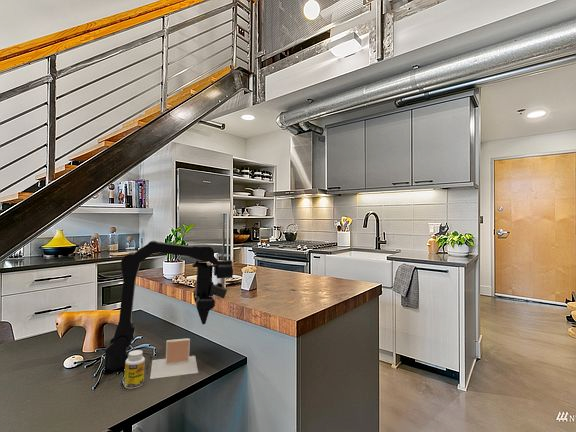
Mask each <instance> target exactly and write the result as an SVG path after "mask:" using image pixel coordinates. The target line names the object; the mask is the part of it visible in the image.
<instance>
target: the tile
mask: <svg viewBox="0 0 576 432" xmlns="http://www.w3.org/2000/svg"><path fill="white" fill-rule="evenodd" d="M190 343H191V339H190V338H178V339H177V338H176V339H168V340H166V344H165V345H166V347H165V359H166V363H165V364H174V363H182V362H189V356H190V351H191V350H190V346H191V344H190Z"/></svg>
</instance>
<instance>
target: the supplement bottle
mask: <svg viewBox="0 0 576 432" xmlns="http://www.w3.org/2000/svg"><path fill="white" fill-rule="evenodd" d="M128 353H129V356H128V359H126V361H125V371H124V377H123V378H124V379H123V381H124V382H123V386H124V388H126V389H128V390H129V389H130V390H132V389H133V390H134V389H137V388H139V387H141V386H142V385H143V384H144V382H145V368H146V367H145V366H146V365H145V364H146V357H144V356H143V355H144V354H143V350H141V349H135V350H131V351H129V352H128Z"/></svg>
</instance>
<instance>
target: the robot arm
mask: <svg viewBox="0 0 576 432" xmlns="http://www.w3.org/2000/svg"><path fill="white" fill-rule="evenodd" d="M155 253H157V254H166V255H173V256H174V255H176V256H183V257H189V258H192V259H195V261H194V262H193V263H192V264H191V266H192V268H196V280H195V285H196V286H195V287H196V288H195V289H194V290H193V293H192V296H193V300H194V303H195V307H196V311H197V313H198V316H199V318H200V323H201V325H206V324H207V320H208V316H209V313H210V311H211V310H213V309H214V308H215V306H216V300H215V298H213V297H214V296H217V297H220V298H221V299H225V297H226V294H227V293H228V290H227V288H225V287H223V283H221V282H217V284H214V282H213V276H214V277H216V279H232V278H233V276H234V275H233V274H234V269H233V261H232V260H229V259H228V260H218V258H217V257H215V251H214V249H213V248H212V247H211V246H210V245H208V244H195V245H185V244H179V243H177V244H175V243H170V242H164V241H163V242H162V241H156V240H151V241H149V242H148V243H147V244H146V245H144V246H142V247H141V248H140V249H138V250H137V251H135V252H129V253H126V255H124V256H123V257H122V259H121V261H120V265H121V275H122V280H123V281H122V282H123V283H122V291H121V300H120V307H119V309H120V310H119V317H118V318H119V319H118V322H117V326H116V329H115V333H114V336H113V337H112V338H111V339H110V340H109V341H108V344H107V345H106V347H105V350H104V355H105V356H104V368H103V372H102V373H103V375H107V374H114V373H120V372H121V373H122V372H125V371H124V369H125V361H126V359H128V356H129V352H128V348H129V347H130V345H131V344H132V341H134V340H135V337H136V333H137V332H136V327H137V323H138V322H135V321H134V322H133V308H134V298H135V292H136V291H135V289H136V281H137V276H138V272H139V270H140V267H141V263H142V262H143V261H144V260H146V259H147V258H149V257H151V255H153V254H155ZM198 260H199V261H198ZM208 262H209V263H210V264H208Z"/></svg>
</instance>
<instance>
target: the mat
mask: <svg viewBox="0 0 576 432" xmlns="http://www.w3.org/2000/svg"><path fill="white" fill-rule="evenodd" d="M165 363H166V358H161V359H152V361H151V370H150V377H149V379H150V380H151V379H152V380H153V379H154V380H155V379H161V378H168V377H177V376H183V375H193V374H199V370H198V365H197V359H196V355H189V362H182V363H174V364H165Z"/></svg>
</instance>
